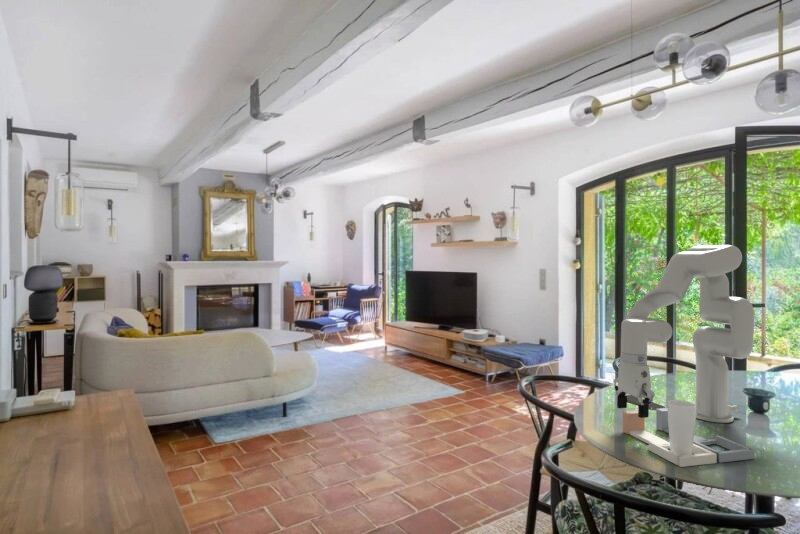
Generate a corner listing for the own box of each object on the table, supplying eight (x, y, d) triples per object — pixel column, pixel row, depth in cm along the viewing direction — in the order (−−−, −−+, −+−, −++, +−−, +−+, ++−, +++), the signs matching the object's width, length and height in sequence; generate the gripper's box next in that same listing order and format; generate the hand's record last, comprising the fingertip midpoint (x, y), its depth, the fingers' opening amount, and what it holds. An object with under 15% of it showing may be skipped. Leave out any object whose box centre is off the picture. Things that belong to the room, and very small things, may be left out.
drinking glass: (699, 462, 129) (700, 407, 129) (672, 460, 130) (672, 406, 130) (689, 453, 135) (690, 400, 135) (663, 451, 137) (664, 399, 137)
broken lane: (678, 426, 156) (679, 407, 156) (754, 458, 131) (754, 435, 131) (649, 429, 154) (649, 409, 154) (719, 462, 128) (720, 438, 128)
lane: (646, 429, 154) (646, 409, 154) (716, 462, 128) (716, 439, 128) (615, 432, 151) (615, 412, 151) (680, 467, 126) (680, 442, 126)
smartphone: (651, 408, 174) (617, 396, 189) (651, 411, 174) (617, 399, 189) (666, 406, 177) (631, 394, 192) (666, 409, 177) (631, 397, 192)
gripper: (664, 363, 143) (663, 420, 143) (625, 353, 160) (624, 404, 160) (642, 364, 142) (641, 422, 142) (605, 353, 159) (604, 405, 159)
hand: (632, 412), depth 151 cm, fingers open, 9 cm apart
